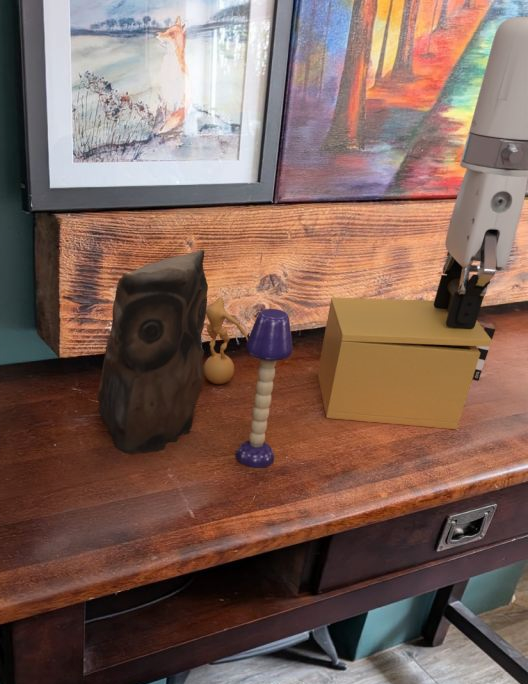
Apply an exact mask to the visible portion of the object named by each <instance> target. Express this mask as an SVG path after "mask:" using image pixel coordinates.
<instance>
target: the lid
mask: <svg viewBox="0 0 528 684" xmlns="http://www.w3.org/2000/svg"><path fill="white" fill-rule="evenodd" d="M459 284H460V279H453V280H451V281H450V282H449V284H448V286H447V288H448V291H449V292H450V294H451V295H450V299H449V304H448V308H447V309H437V308H435V307H434V301H435V300H427V299H426V300H424V299H423V300H421V299H394V298H393V299H390V298H364V297H363V298H360V297H359V298H358V297H331V298H330V304H331V306H332V310H333V313H334V317H335V320H336V323H337V327H338V330H339V333H340V337H341V340H342V341H356V342H382V343H409V344H436V345H463V346H476V347H478V346H490V347H491V345H492V342H493V339H492V340H491V338H490V337H489V336H488V334H487V333H486V332H485V331H484V327H483V326H482V325H481V324H480V322H479V321H478V320H477V321H476V324H475V327H474V328H473V329H463V328H452V327H448V326H447V325H446V320H447V317H448V313H449V310H450V306H451V303H452V299H453V296H454V292H458V290H459Z"/></svg>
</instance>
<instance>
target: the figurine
mask: <svg viewBox="0 0 528 684" xmlns="http://www.w3.org/2000/svg"><path fill="white" fill-rule="evenodd" d="M224 304H225V302H224V298H223V297H221V296H220V297H219V296H218V297H217V299H216V300H215V301H214V302H213V303H212V304H211V305H209V306H207V307H206V317H207V320H208V323H209V324H208V325H207V327H206V331H207V333H208V336H209V337H210V338H211V340H210V341H209V347H210V353H211V355H210V356H209V357H208V358H207V359H206V360H205V362H204V364H203V365H204V369H205V371H204V376H205V378H206V379H207V380H208V382H210V383H212V384H214V385H224V384H226V383H228V382H229V381H230V380H232V377H233V376H234V373H235V365H234V362H233V360H232V359H231V358H230V357H229V355H227V354H225V352H224V351H225V350H226V349H227V347H228V344H229V341H230V336H229V334H228V329H227V328H226V327H223V324H224V321H225V319H226V320H227V321H228V322H230V323H232V324H233V325H235V326H236V329H238V331H239V332H240V333H241V334H242V335H243V336H244V337H245V339H246V342H247V341H248V339H249V336H248V334H247V333H246V331H245V330H244V328H243V327H242V325H241V324H240V322H239V321H238V320H237V319H236V318H235V317H234V316H231V315H230V314H229V312H228V311H226V309H225V307H224V306H225V305H224ZM218 335H219V338H220V340H222V341H223V343H221V345H220V351H219V353H217V352H216V351H215V349H214V348H215V346H216V340H217V337H218Z"/></svg>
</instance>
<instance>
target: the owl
mask: <svg viewBox="0 0 528 684" xmlns="http://www.w3.org/2000/svg"><path fill="white" fill-rule="evenodd" d="M204 258H205V249H200V250H197V251H193V252H189V253H186V254H183V255H179V256H173V257H168V258H164V259H160V260H158V261H155V262H150V263H147V264H144V265H143V266H141V267H139V268H137V269H135V270H133V271H132V272H130V273H127V272H125V273H122V276H121V277H120V278H119V279H118V281H117V284H116V290H115V297H114V301H113V305H112V322H111V328H110V332H109V336H108V339H107V342H106V345H105V351H104V358H103V364H102V370H101V376H100V381H99V387H98V391H97V397H96V399H97V401H98V404H99V405H98V408H97V411H98V412H99V414H100V416H101V417H102V419H103V424H104V425H105V426H106V427H107V433H108V434H109V435H110V436H111V437H112V438H113V445H114V447H115V448H117V449H119V450H120V451H122V452H123V453H127V454H131V455H132V454H134V455H135V454H139V453H141V454H146V453H151V452H152V453H153V452H159V451H163V450H164V449H165V448H166V447H167V445H168V443H176V442H178V440H179V438H180V437H182V436H183V435H189V434H190V433H191V430H192V427H193V426H192V425H193V419H194V413H195V409H196V405H197V402H198V399H199V397H200V394H201V392H202V390H203V381H204V376H205V374H204V371H205V369H204V365H205V364H204V362H203V357H204V355H205V349H203V347H202V334H203V330H204V327H205V321H206V317H207V315H206V307H208V296H207V295H208V289H209V284H208V281H207V278H206V274H205V271H204V260H205V259H204Z"/></svg>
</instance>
